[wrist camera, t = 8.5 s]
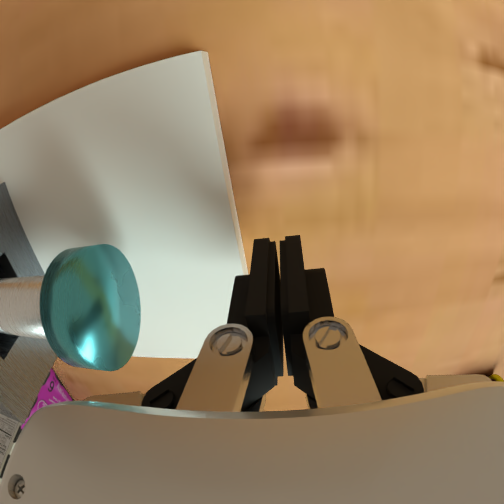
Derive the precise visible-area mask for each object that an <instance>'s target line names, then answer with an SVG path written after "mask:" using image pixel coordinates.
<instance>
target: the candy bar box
mask: <svg viewBox="0 0 504 504" xmlns="http://www.w3.org/2000/svg"><path fill="white" fill-rule="evenodd" d="M64 401H73V400H72V398H71V397H70V395H69V394H68V392H67V391H66V389H65V388H64V387H63V385H62V383H61V382H60V380H59V379H58V377H57V376H56V374H55V372H54V371H53V369H52V368H51V370H50V372H49V374H48V376H47V378H46V379H45V381H44V383H43V385H42V387H41V389H40V391H39V393H38V395H37V398H36V400H35V402H34V404H33V406H32V408H31V410H30V412H29V415H28V417H27V419H26V421H25V423H24V424H22V423H20V422H18V421H15V420H13V419H11V418H9V417H7V416H4V415H2V414H0V484H1V480H2V477H3V474H4V471H5V468H6V466H7V463H8V460H9V458H10V455H11V453H12V450H13V448H14V446H15V443H16V441H17V439H18V437H19V435H20V433H21V431H22V429H23V428H24V426H25V424H26V423H27V421H28V420H29V418H30V417H31V416H32V415H33V414H34V413H35V412H36V411H37V410H38V409H40V408H42V407H44V406H47V405H50V404H54V403H59V402H64Z"/></svg>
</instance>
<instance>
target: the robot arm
mask: <svg viewBox="0 0 504 504" xmlns="http://www.w3.org/2000/svg"><path fill="white" fill-rule="evenodd" d="M283 336H284V344H285V353H286V361H287V370H288V376H294V385H295V386H296V387H298V388H299V389H301V390H302V391H303V392H305V394H306V401H307V406H308V409H305V410H290V411H266V412H263V410H264V406H265V402H266V393H267V392H268V391H269V390H271V389H272V388H273V387H274V386H275V385H277V376H283ZM0 504H504V382H499V381H492V380H491V379H490V378H488V377H487V376H485V375H480V374H470V375H427V376H426V378H418V377H417V376H416V375H414V374H413V373H411V372H409V371H407V370H406V369H404V368H402V367H400V366H398V365H396V364H394V363H393V362H391V361H389V360H387V359H385V358H383V357H381V356H380V355H378V354H376V353H374V352H372V351H370V350H369V349H367V348H365V347H363V346H361V345H360V344H359V343H358V341H357V339H356V337H355V334H354V332H353V330H352V328H351V327H350V325H349V324H348V323H347V322H345V321H344V320H342V319H339V318H337V317H334V314H333V308H332V303H331V298H330V293H329V288H328V283H327V278H326V273H325V269H324V268H320V269H309V270H304V262H303V255H302V247H301V239H300V235H295V236H285V240H284V241H280V274H279V266H278V258H277V250H276V243H275V241H273V242H270V240H269V238H263V239H254V244H253V253H252V261H251V270H250V275H238V276H235V280H234V285H233V291H232V296H231V302H230V308H229V313H228V319H227V324H225V325H221V326H219V327H217V328H215V329H213V330H212V331H211V332H210V333H209V334H208V335H207V337H206V339H205V341H204V343H203V346H202V348H201V350H200V353H199V355H198V357H197V358H196V359H195V360H193V361H192V362H190V363H189V364H187V365H186V366H184V367H183V368H181V369H180V370H178V371H177V372H175V373H174V374H172V375H171V376H169V377H168V378H166V379H165V380H163V381H162V382H160V383H159V384H157V385H155V386H154V387H152V388H151V389H150V390H149V391H148V392H147V393H146V394H142V393H141V391H137V392H128V393H119V394H108V395H96V396H90V397H87V398H86V399H84V400H83V401H64V402H59V403H54V404H50V405H47V406H44V407H42V408H40V409H38V410H37V411H36V412H35V413H34V414H33V415H32V416H31V417H30V418H29V420H28V421H27V423H26V424H25V426H24V428H23V429H22V431H21V433H20V435H19V437H18V439H17V441H16V443H15V446H14V448H13V450H12V453H11V455H10V458H9V460H8V463H7V466H6V468H5V471H4V474H3V477H2V480H1V484H0Z"/></svg>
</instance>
